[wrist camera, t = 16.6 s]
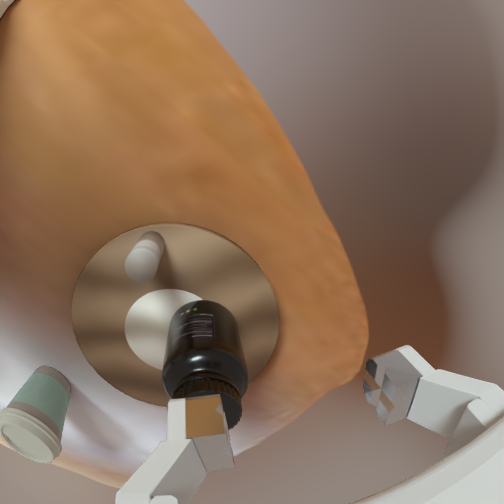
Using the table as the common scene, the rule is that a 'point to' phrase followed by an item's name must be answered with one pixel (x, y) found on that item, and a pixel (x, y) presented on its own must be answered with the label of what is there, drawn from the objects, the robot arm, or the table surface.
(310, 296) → the table surface
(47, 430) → the coffee cup
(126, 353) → the turntable
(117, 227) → the table surface
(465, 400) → the robot arm
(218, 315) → the supplement bottle
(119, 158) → the table surface
